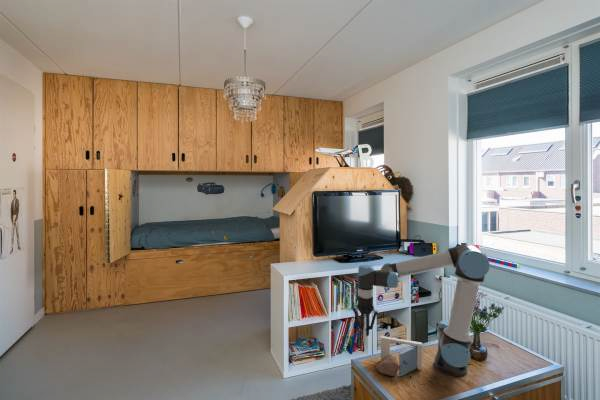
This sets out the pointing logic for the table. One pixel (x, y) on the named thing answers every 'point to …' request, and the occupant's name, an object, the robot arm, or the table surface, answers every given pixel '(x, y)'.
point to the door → (408, 360)
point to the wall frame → (386, 343)
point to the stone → (388, 365)
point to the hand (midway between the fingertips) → (365, 341)
